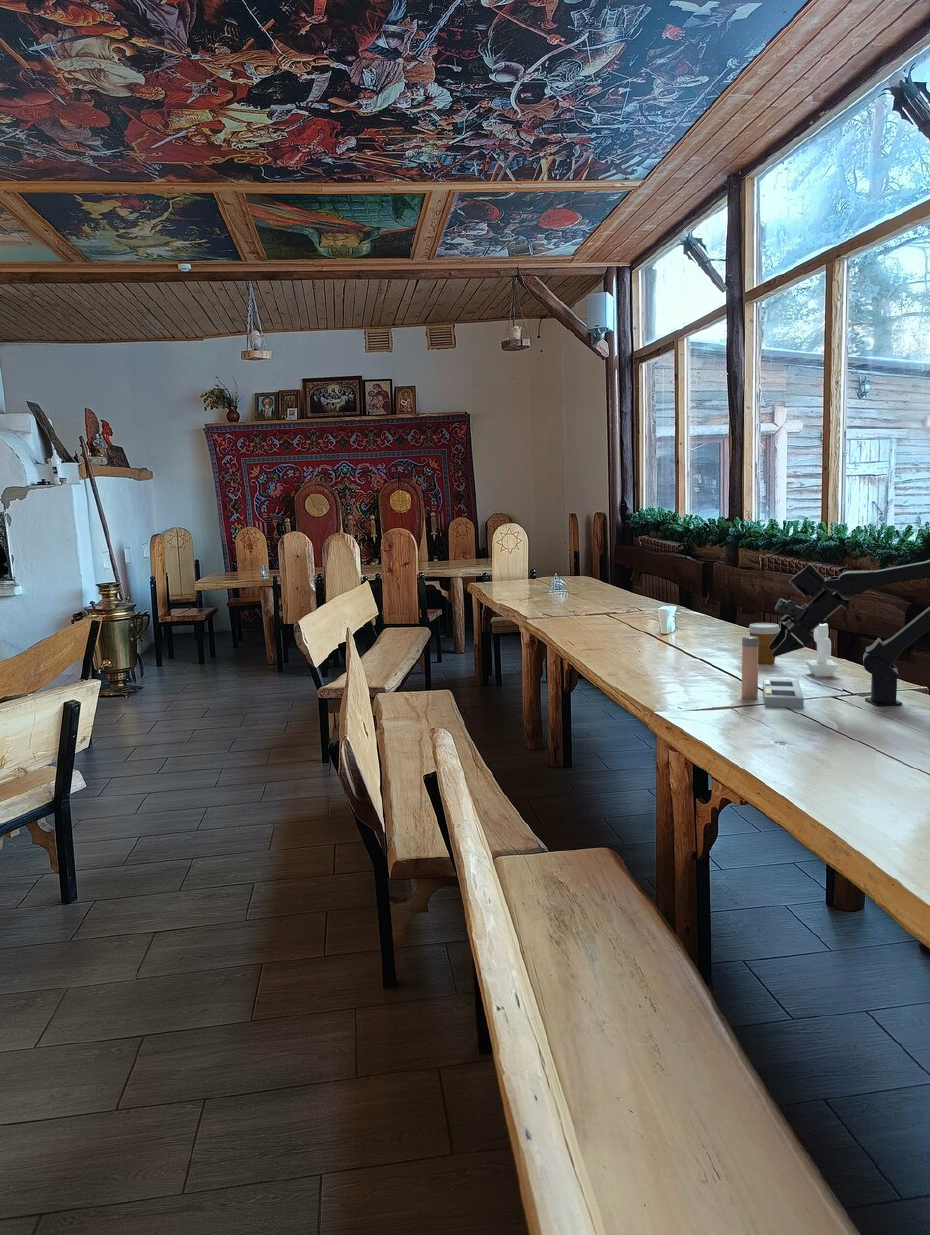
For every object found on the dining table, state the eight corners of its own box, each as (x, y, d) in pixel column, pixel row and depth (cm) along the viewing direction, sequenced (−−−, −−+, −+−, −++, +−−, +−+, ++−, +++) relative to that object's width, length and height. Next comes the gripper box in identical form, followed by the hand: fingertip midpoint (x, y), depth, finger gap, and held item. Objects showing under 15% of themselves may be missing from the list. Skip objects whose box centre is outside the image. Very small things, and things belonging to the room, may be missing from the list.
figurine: (813, 678, 228) (814, 626, 226) (803, 671, 238) (804, 621, 235) (840, 678, 227) (841, 626, 225) (828, 671, 237) (830, 620, 234)
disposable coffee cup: (741, 661, 255) (741, 624, 253) (766, 658, 257) (767, 621, 256) (760, 667, 246) (761, 628, 244) (786, 664, 248) (787, 625, 247)
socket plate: (803, 708, 199) (803, 696, 198) (764, 706, 202) (765, 695, 201) (798, 689, 218) (798, 678, 217) (763, 687, 221) (763, 677, 220)
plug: (759, 698, 209) (760, 638, 207) (744, 699, 209) (745, 639, 207) (754, 695, 213) (755, 636, 211) (739, 695, 213) (740, 636, 211)
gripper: (790, 583, 213) (746, 624, 218) (800, 592, 195) (751, 636, 200) (821, 613, 212) (776, 653, 217) (834, 624, 195) (784, 668, 199)
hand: (771, 651), depth 208 cm, fingers open, 9 cm apart
